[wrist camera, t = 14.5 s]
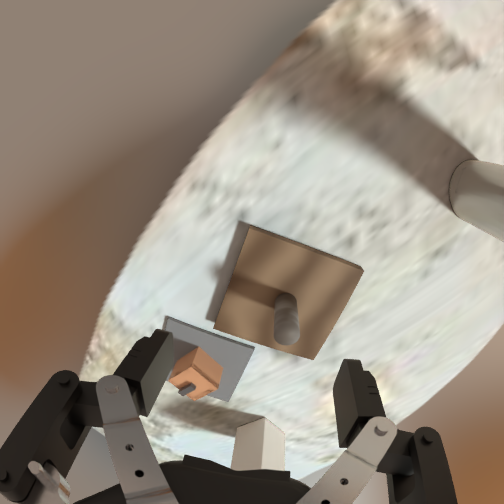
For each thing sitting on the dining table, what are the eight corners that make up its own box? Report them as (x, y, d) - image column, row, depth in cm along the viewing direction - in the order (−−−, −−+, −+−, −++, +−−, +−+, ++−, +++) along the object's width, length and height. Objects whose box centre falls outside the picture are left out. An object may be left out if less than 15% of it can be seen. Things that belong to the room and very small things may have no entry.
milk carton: (236, 426, 52) (223, 505, 34) (265, 416, 50) (258, 501, 32) (257, 441, 54) (250, 516, 36) (285, 432, 52) (283, 511, 34)
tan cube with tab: (198, 346, 44) (189, 370, 39) (223, 367, 46) (217, 392, 40) (176, 360, 46) (166, 383, 41) (200, 380, 47) (193, 404, 42)
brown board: (361, 266, 38) (380, 298, 30) (312, 354, 44) (317, 394, 36) (250, 225, 38) (242, 248, 29) (215, 322, 43) (201, 361, 35)
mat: (254, 347, 44) (254, 349, 44) (228, 399, 49) (228, 401, 49) (169, 316, 44) (167, 318, 43) (156, 374, 49) (155, 376, 48)
